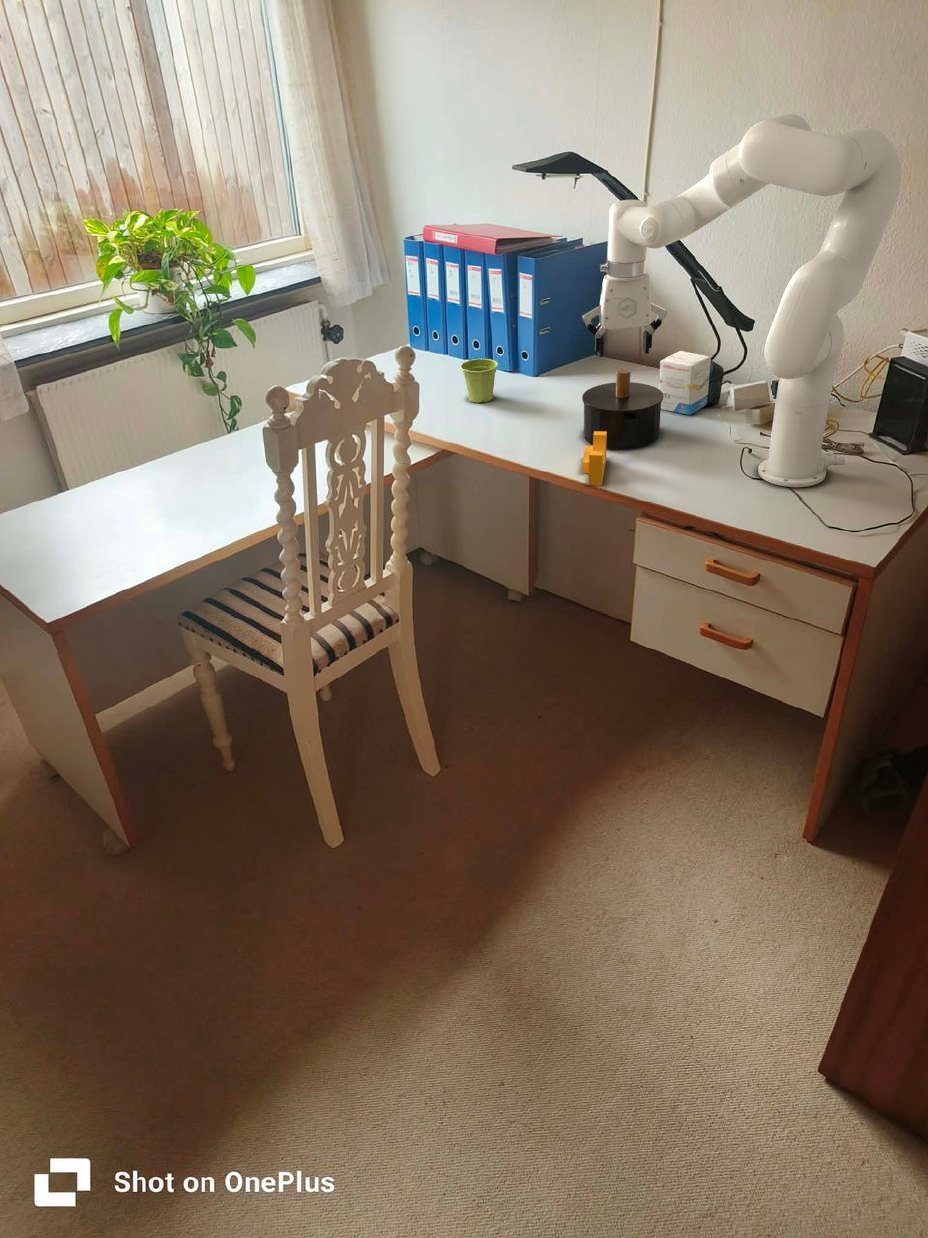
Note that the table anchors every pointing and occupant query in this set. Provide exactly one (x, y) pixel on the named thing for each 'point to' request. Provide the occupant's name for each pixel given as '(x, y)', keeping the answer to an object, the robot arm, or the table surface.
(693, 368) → the ink box
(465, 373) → the plant pot
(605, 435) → the orange stepped block
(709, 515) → the table surface
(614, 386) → the lid
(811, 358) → the robot arm
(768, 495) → the table surface
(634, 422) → the pot
